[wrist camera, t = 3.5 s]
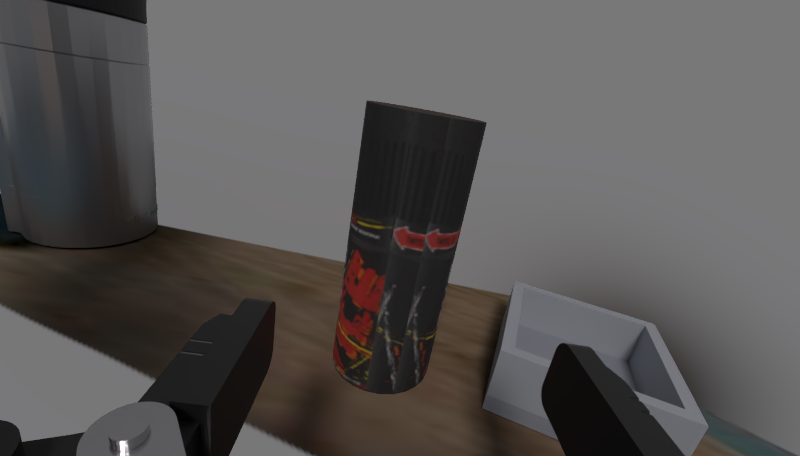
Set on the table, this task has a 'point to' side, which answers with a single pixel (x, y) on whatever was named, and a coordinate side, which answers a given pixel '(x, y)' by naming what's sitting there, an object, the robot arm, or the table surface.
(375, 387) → the deodorant
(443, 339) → the table surface
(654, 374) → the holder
